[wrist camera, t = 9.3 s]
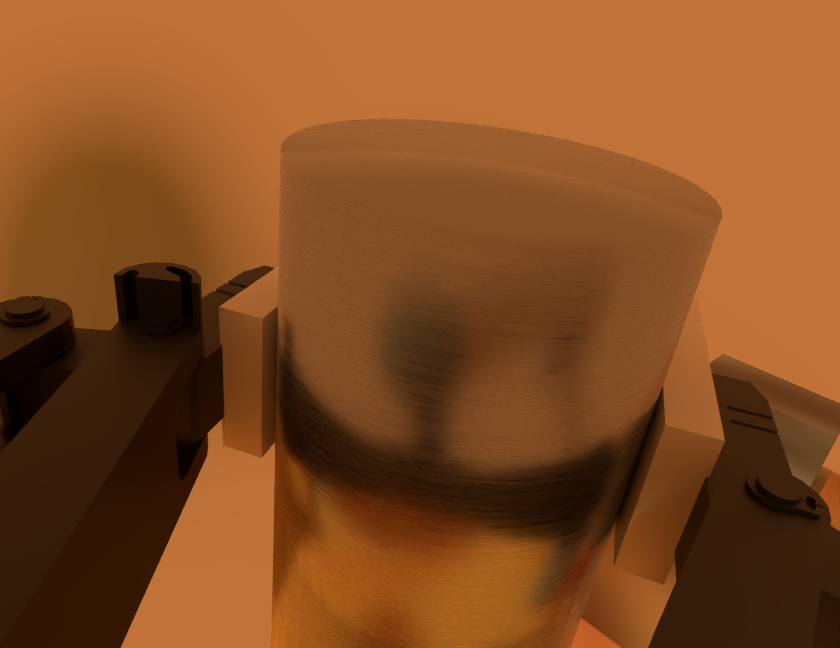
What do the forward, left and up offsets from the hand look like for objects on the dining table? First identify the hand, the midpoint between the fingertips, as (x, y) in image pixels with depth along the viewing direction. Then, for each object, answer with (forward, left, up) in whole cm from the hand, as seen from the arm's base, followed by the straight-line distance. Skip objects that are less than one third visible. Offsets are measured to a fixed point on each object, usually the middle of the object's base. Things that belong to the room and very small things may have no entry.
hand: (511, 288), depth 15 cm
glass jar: (+2, +4, -6) cm, 8 cm away
